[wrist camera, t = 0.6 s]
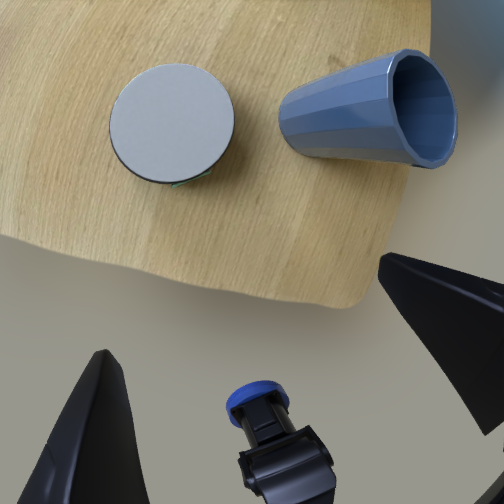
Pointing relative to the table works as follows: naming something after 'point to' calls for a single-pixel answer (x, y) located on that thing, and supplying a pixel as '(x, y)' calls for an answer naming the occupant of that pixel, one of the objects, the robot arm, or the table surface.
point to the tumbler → (375, 113)
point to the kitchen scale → (172, 124)
